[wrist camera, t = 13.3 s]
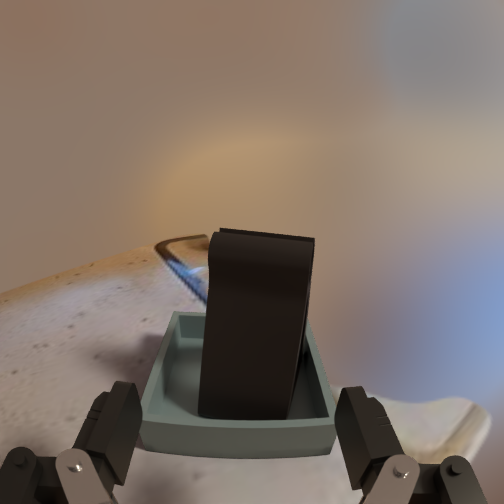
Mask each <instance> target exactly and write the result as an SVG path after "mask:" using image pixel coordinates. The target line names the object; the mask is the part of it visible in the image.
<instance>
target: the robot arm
mask: <svg viewBox="0 0 504 504" xmlns="http://www.w3.org/2000/svg"><path fill="white" fill-rule="evenodd" d="M142 419H143V411H142V406H141V403H140V399H139V395H138V392H137V388H136V385H135V384H134V383H128V382H121V381H116V382H115V383H114V385H113V387H112V389H111V391H110V392H103V393H101V394H100V395H99V396H98V397H97V398H96V399H95V400H94V402H93V404H92V406H91V408H90V411H89V413H88V415H87V419H85V421H84V423H83V426H82V428H81V430H80V432H79V434H78V436H77V439H76V441H75V443H74V445H73V447H72V448H71V449H67V450H65V451H63V452H61V453H60V454H59V455H58V457H37V456H35V454H34V453H33V452H32V451H31V450H30V449H28V448H25V447H17V448H14V449H12V450H11V451H10V452H9V453H8V454H7V456H6V458H5V460H4V462H3V465H2V467H1V469H0V504H119V503H118V502H117V500H116V498H115V496H114V494H113V492H112V491H113V488H114V484H117V485H121V486H124V483H125V479H126V476H127V472H128V468H129V465H130V461H131V458H132V454H133V451H134V447H135V444H136V440H137V437H138V434H139V430H140V427H141V424H142ZM334 424H335V429H336V432H337V436H338V439H339V443H340V446H341V450H342V454H343V457H344V461H345V464H346V468H347V472H348V475H349V479H350V483H351V487H352V490H358V489H362V492H363V496H362V498H361V500H360V502H359V503H358V504H487V501H486V499H485V496H484V494H483V492H482V489H481V487H480V485H479V483H478V480H477V478H476V476H475V474H474V471H473V469H472V467H471V465H470V463H469V462H468V461H467V460H466V459H465V458H463V457H461V456H456V455H455V456H449V457H447V458H445V459H444V460H443V462H442V463H441V464H420V463H417V461H416V460H415V459H413V458H412V457H410V456H407V455H405V454H404V452H403V450H402V447H401V445H400V443H399V440H398V438H397V436H396V434H395V431H394V429H393V427H392V425H391V422H390V420H389V418H388V417H387V414H386V411H385V409H384V407H383V405H382V404H381V403H380V402H379V401H378V400H377V399H375V398H374V397H371V398H367V396H366V393H365V391H364V389H363V387H362V386H357V387H347V388H343V389H342V390H341V394H340V397H339V401H338V404H337V407H336V411H335V415H334Z"/></svg>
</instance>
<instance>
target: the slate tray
mask: <svg viewBox="0 0 504 504" xmlns="http://www.w3.org/2000/svg"><path fill="white" fill-rule="evenodd" d="M205 318H206V313H197V312H176V311H174V312H173V315H172V317H171V320H170V322H169V325H168V328H167V330H166V333H165V336H164V338H163V341H162V344H161V346H160V349H159V352H158V354H157V357H156V360H155V363H154V365H153V368H152V371H151V374H150V376H149V379H148V382H147V385H146V388H145V391H144V393H143V396H142V399H141V402H140V403H141V406H142V411H143V419H142V424H141V427H140V430H139V433H140V436H141V438H142V441H143V444H144V447H145V449H146V451H153V452H160V453H168V454H177V455H187V456H198V457H214V458H244V459H260V458H291V457H306V456H318V455H328V454H330V452H331V449H332V447H333V444H334V441H335V439H336V436H337V432H336V429H335V424H334V415H335V411H336V405H335V402H334V399H333V396H332V392H331V389H330V386H329V383H328V380H327V376H326V373H325V370H324V367H323V364H322V361H321V358H320V354H319V352H318V348H317V345H316V342H315V339H314V336H313V333H312V330H311V327H310V324H309V321H308V318H307V326H306V335H305V343H304V352H303V358H302V363H301V367H300V371H299V375H298V380H297V384H296V388H295V391H294V396H293V400H292V403H291V407H290V411H289V415H288V419H287V420H263V421H248V420H216V419H213V418H209V417H205V416H202V415H198V413H197V412H198V398H199V385H200V372H201V361H202V349H203V338H204V328H205Z"/></svg>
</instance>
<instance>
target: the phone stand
mask: <svg viewBox="0 0 504 504" xmlns="http://www.w3.org/2000/svg"><path fill="white" fill-rule="evenodd" d="M314 247H315V238H310V237H301V236H292V235H283V234H274V233H265V232H255V231H246V230H236V229H227V228H220V231H219V232H214V233H213V235H212V238H211V241H210V245H209V251H208V266H209V289H208V298H207V308H206V318H205V328H204V338H203V349H202V361H201V372H200V385H199V398H198V412H197V413H198V415H202V416H205V417H209V418H213V419H216V420H248V421H263V420H287V419H288V415H289V411H290V407H291V403H292V400H293V396H294V391H295V388H296V384H297V380H298V375H299V371H300V367H301V363H302V358H303V352H304V343H305V335H306V326H307V316H308V307H309V297H310V286H311V276H312V267H313V258H314Z"/></svg>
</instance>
